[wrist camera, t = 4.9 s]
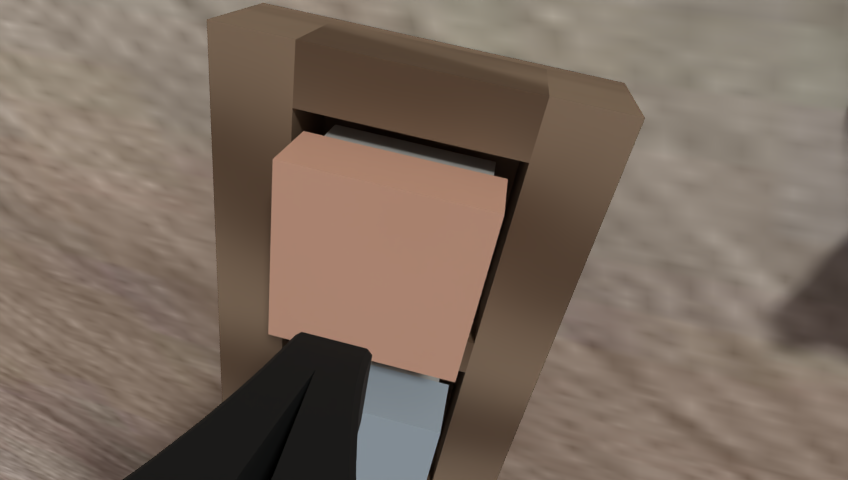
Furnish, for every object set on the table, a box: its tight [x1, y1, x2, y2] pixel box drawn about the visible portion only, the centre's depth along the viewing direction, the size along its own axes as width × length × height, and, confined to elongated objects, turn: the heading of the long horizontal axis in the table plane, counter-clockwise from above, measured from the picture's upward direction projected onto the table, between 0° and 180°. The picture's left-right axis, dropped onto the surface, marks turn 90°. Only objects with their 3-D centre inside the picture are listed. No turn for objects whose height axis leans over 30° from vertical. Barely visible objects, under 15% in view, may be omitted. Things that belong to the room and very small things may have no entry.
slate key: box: [356, 361, 449, 480], centre depth 18 cm, size 5×5×3 cm
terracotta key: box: [268, 125, 508, 382], centre depth 14 cm, size 5×5×3 cm
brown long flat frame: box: [207, 3, 645, 480], centre depth 19 cm, size 23×10×3 cm, turn 170°
